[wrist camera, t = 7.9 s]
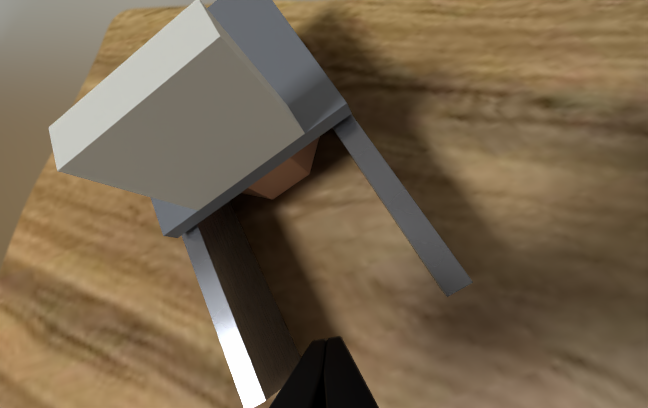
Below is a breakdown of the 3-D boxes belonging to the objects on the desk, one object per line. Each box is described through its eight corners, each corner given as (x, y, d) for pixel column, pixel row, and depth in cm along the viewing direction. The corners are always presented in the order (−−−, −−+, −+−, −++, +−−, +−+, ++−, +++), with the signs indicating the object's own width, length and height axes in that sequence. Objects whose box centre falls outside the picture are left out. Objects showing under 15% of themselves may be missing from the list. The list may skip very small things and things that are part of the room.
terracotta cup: (337, 155, 21) (311, 121, 17) (247, 217, 22) (200, 202, 18) (287, 79, 24) (254, 33, 20) (210, 138, 25) (162, 108, 21)
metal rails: (461, 280, 17) (473, 282, 12) (290, 378, 19) (245, 411, 14) (302, 56, 24) (272, 4, 20) (189, 143, 26) (138, 115, 21)
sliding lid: (351, 113, 16) (288, -21, 9) (177, 237, 17) (7, 212, 10) (259, -15, 20) (165, -174, 13) (127, 96, 22) (-18, 10, 15)
